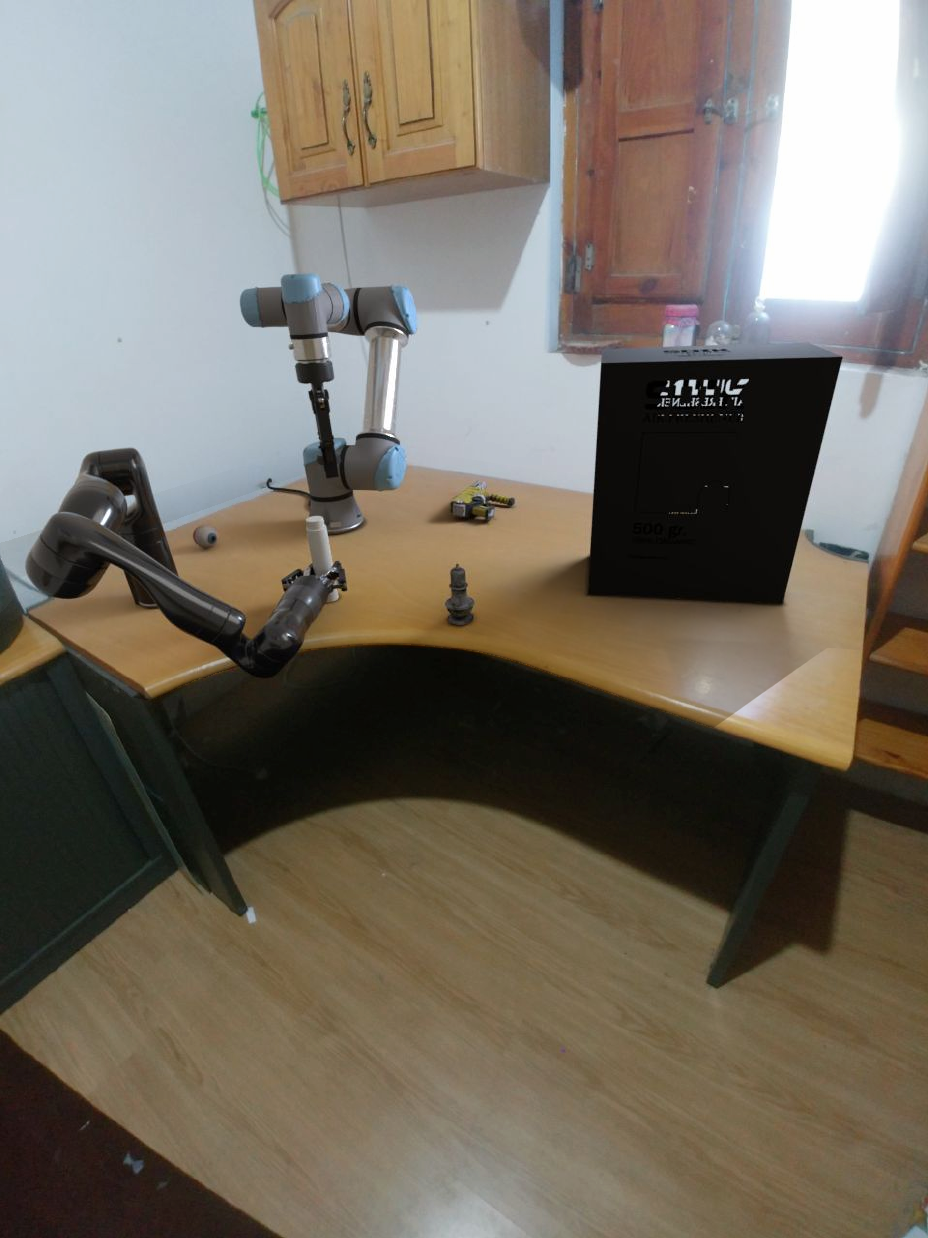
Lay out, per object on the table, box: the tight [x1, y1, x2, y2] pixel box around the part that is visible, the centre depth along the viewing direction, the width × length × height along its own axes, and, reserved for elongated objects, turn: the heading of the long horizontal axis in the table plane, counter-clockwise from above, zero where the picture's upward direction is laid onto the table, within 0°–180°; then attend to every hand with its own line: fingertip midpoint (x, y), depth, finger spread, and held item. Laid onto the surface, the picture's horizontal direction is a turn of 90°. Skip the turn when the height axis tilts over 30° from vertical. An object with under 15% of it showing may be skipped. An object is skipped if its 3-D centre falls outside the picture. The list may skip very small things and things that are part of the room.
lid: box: [316, 450, 341, 465], centre depth 132 cm, size 5×5×2 cm
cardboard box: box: [587, 342, 844, 605], centre depth 120 cm, size 38×20×45 cm, turn 78°
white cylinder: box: [305, 516, 340, 604], centre depth 126 cm, size 4×4×18 cm
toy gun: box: [449, 480, 516, 522], centre depth 174 cm, size 5×24×15 cm
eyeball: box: [192, 524, 219, 549], centre depth 158 cm, size 6×6×6 cm
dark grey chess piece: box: [444, 563, 475, 626], centre depth 117 cm, size 6×6×12 cm
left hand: (327, 565), depth 130 cm, fingers closed on white cylinder, 4 cm apart
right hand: (331, 473), depth 134 cm, fingers closed on lid, 5 cm apart
